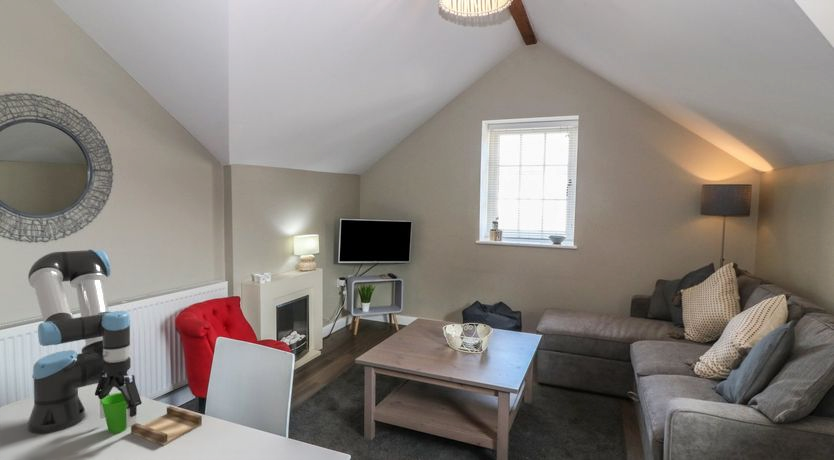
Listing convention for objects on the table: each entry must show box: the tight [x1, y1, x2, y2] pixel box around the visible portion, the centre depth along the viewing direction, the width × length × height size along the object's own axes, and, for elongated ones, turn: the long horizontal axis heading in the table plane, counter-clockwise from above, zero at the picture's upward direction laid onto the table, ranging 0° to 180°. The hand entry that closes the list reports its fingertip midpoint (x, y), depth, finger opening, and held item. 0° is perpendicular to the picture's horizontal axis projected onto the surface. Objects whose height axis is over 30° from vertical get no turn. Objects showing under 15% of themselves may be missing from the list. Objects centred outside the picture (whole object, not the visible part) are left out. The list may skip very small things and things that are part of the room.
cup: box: [101, 391, 128, 435], centre depth 146 cm, size 9×9×11 cm
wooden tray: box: [130, 405, 203, 446], centre depth 148 cm, size 16×14×3 cm
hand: (118, 421), depth 146 cm, fingers open, 13 cm apart
